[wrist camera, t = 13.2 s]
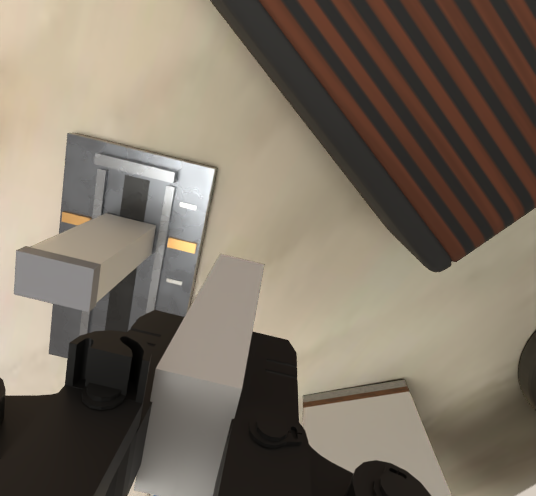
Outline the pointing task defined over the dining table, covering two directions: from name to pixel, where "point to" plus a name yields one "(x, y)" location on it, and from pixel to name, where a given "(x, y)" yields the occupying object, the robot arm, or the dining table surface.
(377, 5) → the radio receiver
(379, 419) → the white shelf
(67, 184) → the console
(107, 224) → the fader tab
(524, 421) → the dining table surface
